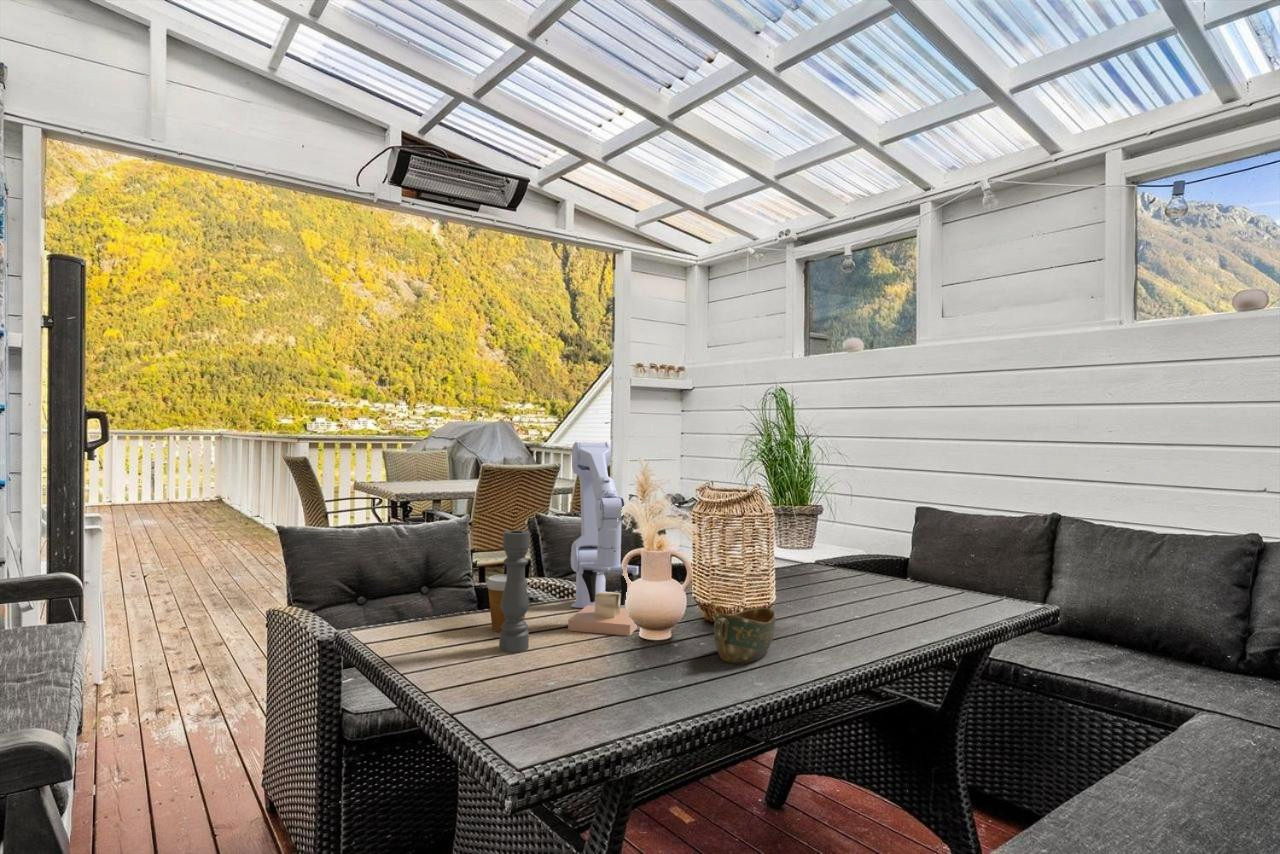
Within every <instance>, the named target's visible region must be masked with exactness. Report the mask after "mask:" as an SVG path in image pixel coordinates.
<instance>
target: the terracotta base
mask: <svg viewBox="0 0 1280 854" xmlns="http://www.w3.org/2000/svg"><path fill="white" fill-rule="evenodd" d="M626 608H627V607H625V608H624V607H620V614H619V615H617V616H616V617H615V618H606V617H595V606H589V605H587V606H586V607H584V608H581V609H580V610H579V611H578V612H576V613H575V614H574V615H573V616H571V617H569V619H568V623H567V624H568V625H567V630H568V631H574V632H581V633H594V634H606V635H615V636H616V635H617V636H628V637H630V636H631V635H632V634H633V633H634V632H635V631H636V629H638V627H637V625H636V624H635V623H634V621H633V620H632V619H631V618H630V617H629V615H628V613H627V611H626Z"/></svg>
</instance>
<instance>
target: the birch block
mask: <svg viewBox="0 0 1280 854" xmlns="http://www.w3.org/2000/svg"><path fill="white" fill-rule="evenodd" d="M620 608H621V592H615V591H614V592H613V591H605V592H602V591H601V592H599V593H598V594H597V595H595V617H606V618H615V617H616V616H617V615H619V614H620Z"/></svg>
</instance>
